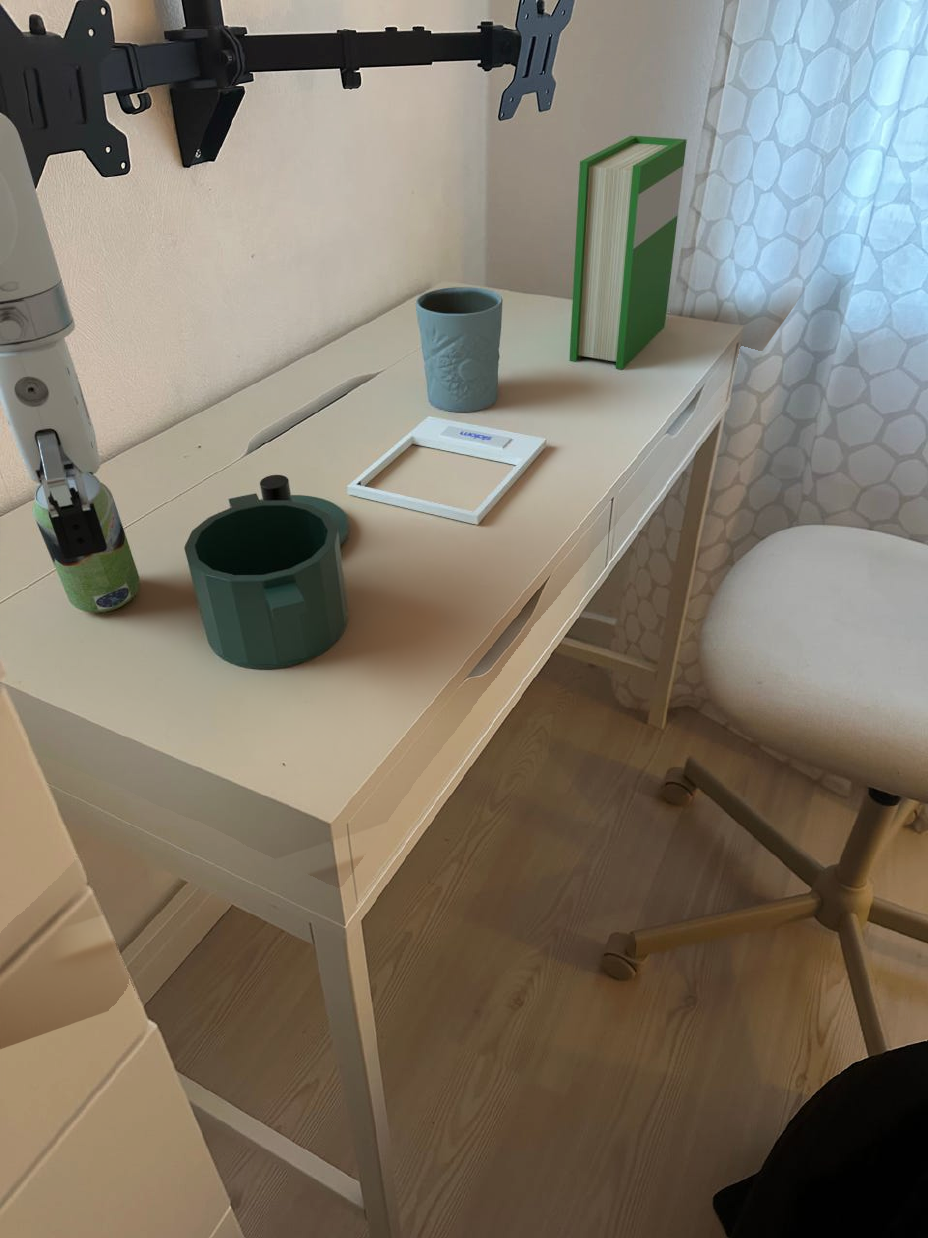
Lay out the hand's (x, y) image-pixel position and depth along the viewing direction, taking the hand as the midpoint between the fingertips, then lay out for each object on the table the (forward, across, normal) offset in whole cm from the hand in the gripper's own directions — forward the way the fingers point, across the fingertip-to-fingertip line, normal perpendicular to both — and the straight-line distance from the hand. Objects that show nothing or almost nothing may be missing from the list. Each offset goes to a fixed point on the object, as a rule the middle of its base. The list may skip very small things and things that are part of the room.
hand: (82, 522), depth 73 cm
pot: (+8, -9, -13) cm, 18 cm away
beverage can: (+8, 0, 0) cm, 8 cm away
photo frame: (+8, +10, -36) cm, 38 cm away
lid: (+7, +4, -16) cm, 18 cm away
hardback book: (+9, +35, -71) cm, 79 cm away
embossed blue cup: (+8, +27, -44) cm, 52 cm away
